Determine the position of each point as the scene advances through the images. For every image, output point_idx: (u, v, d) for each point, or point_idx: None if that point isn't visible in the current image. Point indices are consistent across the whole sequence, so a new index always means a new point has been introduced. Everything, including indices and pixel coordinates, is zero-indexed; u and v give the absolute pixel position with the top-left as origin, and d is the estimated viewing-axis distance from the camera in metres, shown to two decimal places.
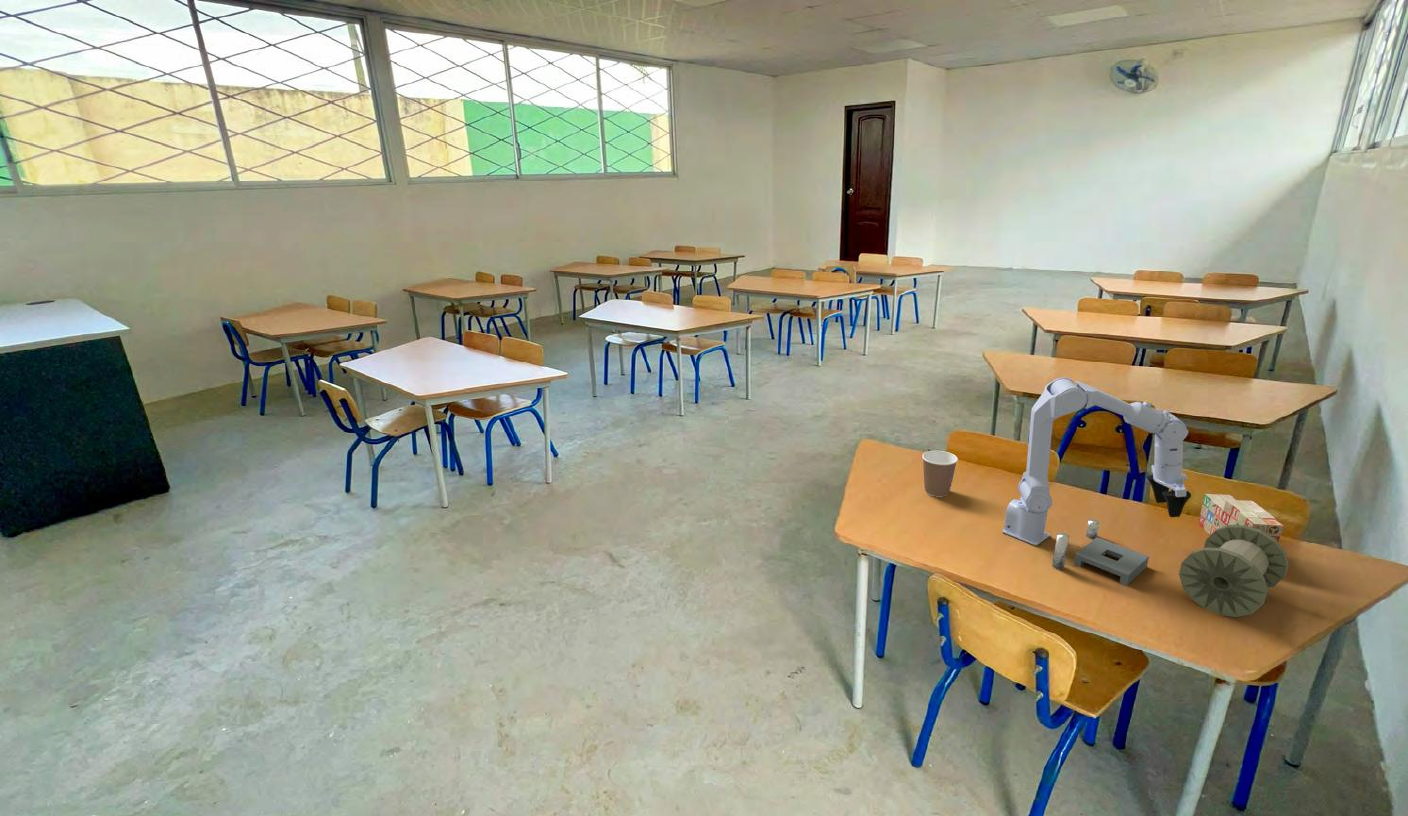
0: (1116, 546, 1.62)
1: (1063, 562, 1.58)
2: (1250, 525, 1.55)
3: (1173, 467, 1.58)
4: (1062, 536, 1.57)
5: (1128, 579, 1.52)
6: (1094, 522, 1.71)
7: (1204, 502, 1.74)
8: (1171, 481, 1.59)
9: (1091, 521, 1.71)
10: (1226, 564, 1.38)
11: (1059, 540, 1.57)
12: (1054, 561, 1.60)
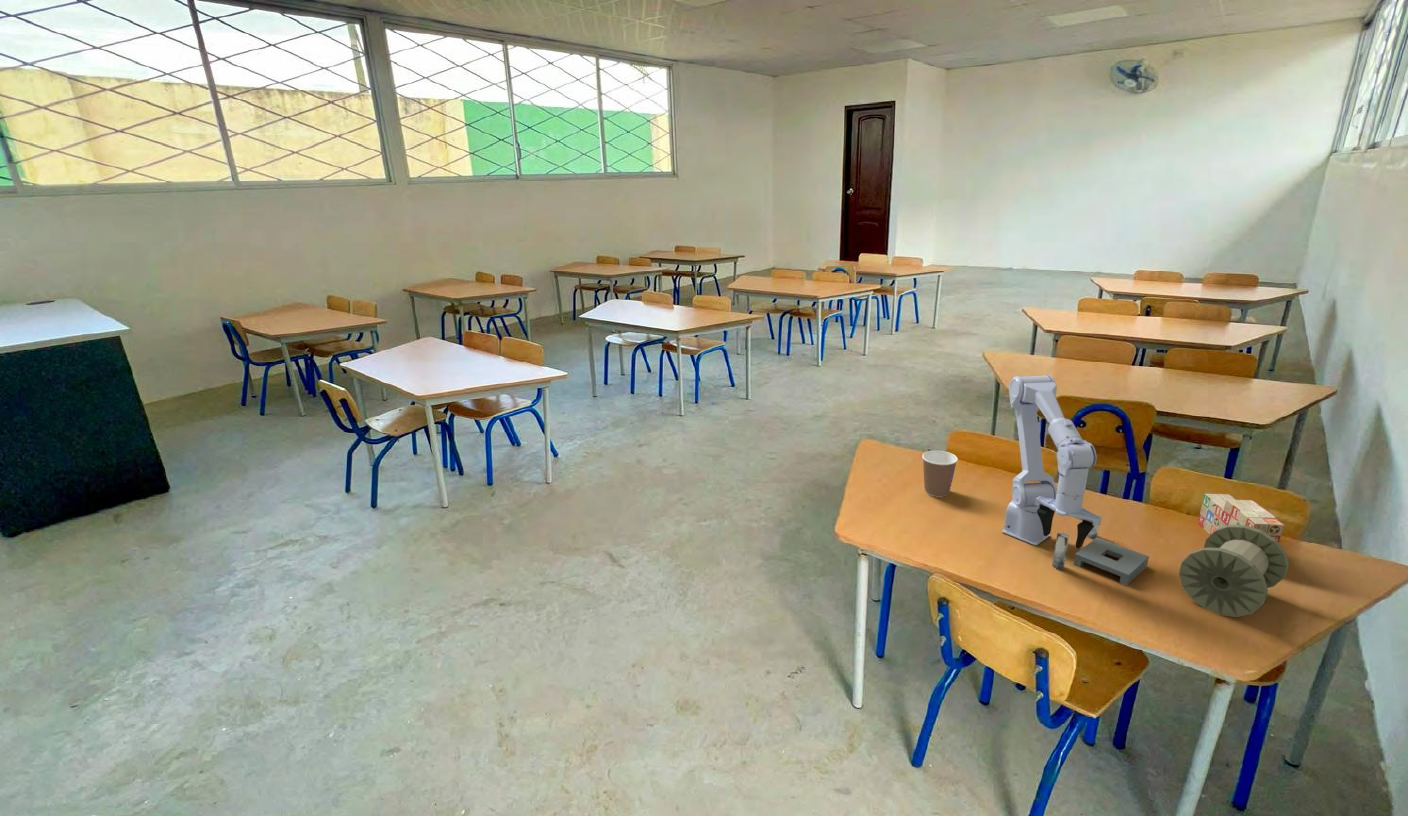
0: (1116, 546, 1.62)
1: (1063, 562, 1.58)
2: (1251, 525, 1.55)
3: None
4: (1062, 536, 1.57)
5: (1128, 579, 1.52)
6: None
7: (1204, 501, 1.74)
8: None
9: None
10: (1226, 564, 1.38)
11: (1059, 540, 1.57)
12: (1054, 561, 1.60)
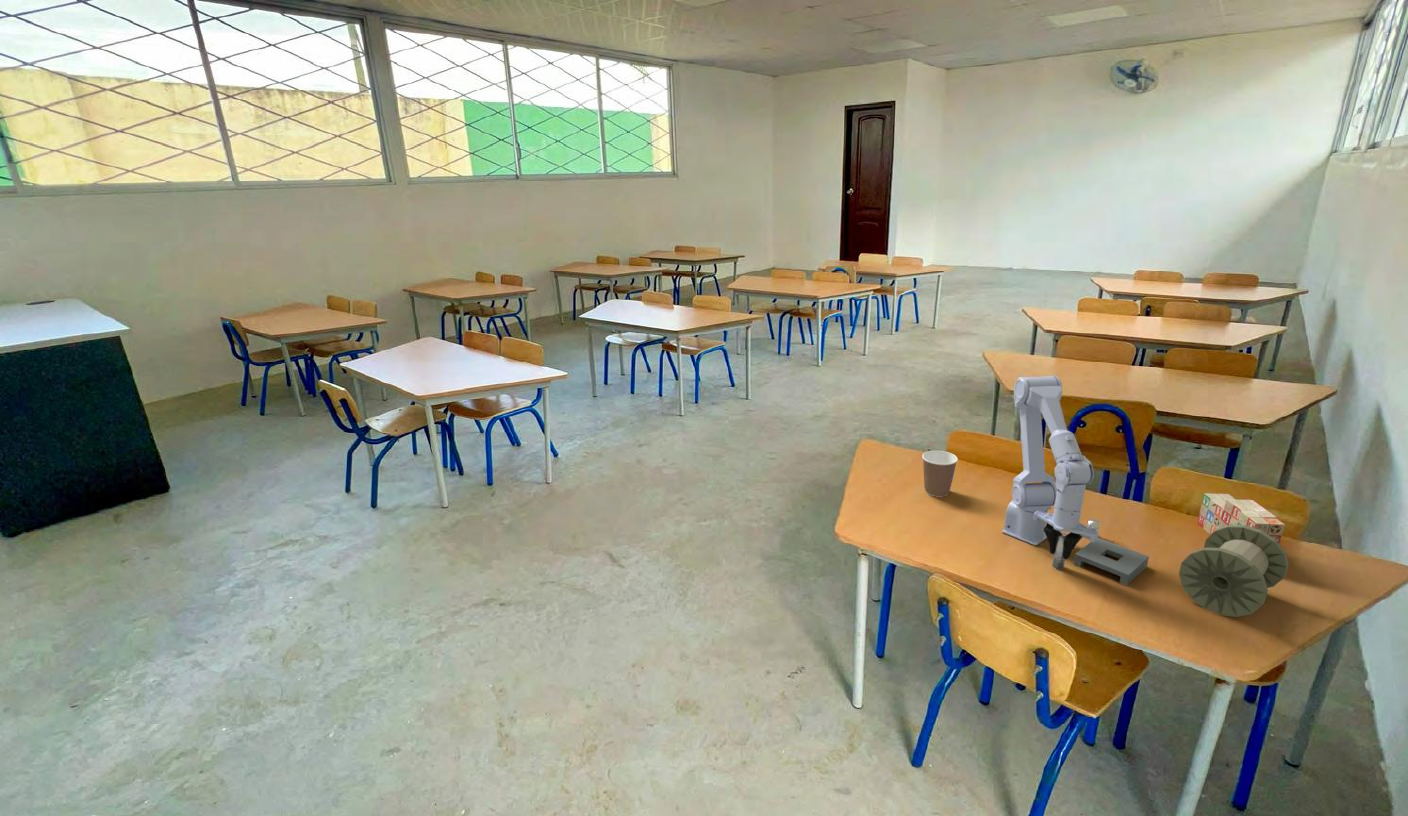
0: (1116, 546, 1.62)
1: (1063, 562, 1.58)
2: (1252, 524, 1.55)
3: None
4: (1062, 536, 1.57)
5: (1128, 579, 1.52)
6: (1094, 522, 1.71)
7: (1203, 501, 1.74)
8: None
9: (1091, 521, 1.71)
10: (1226, 564, 1.38)
11: (1059, 540, 1.57)
12: (1054, 561, 1.60)
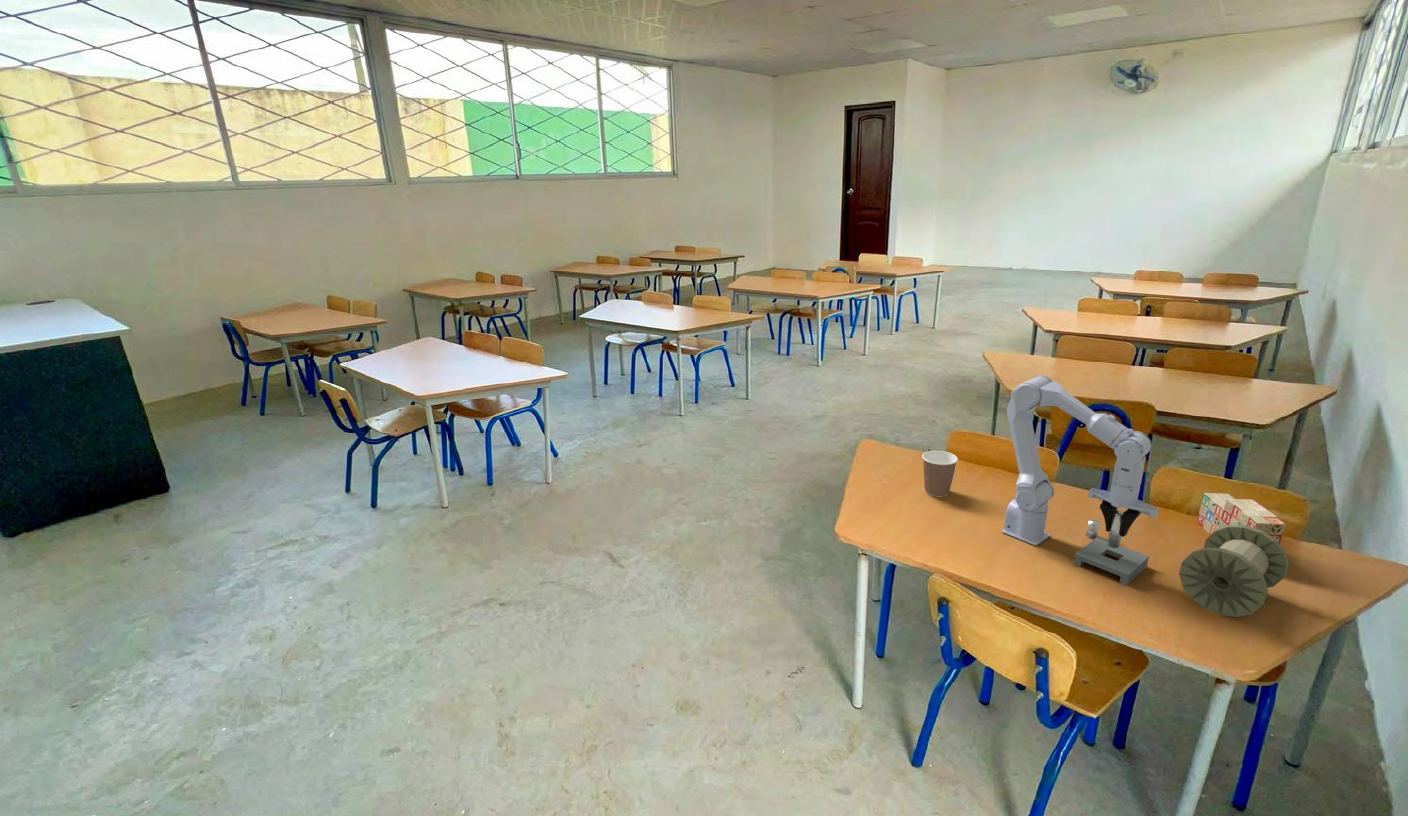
0: None
1: (1118, 540, 1.56)
2: (1253, 524, 1.55)
3: None
4: (1118, 513, 1.54)
5: (1128, 579, 1.52)
6: (1094, 522, 1.71)
7: (1203, 501, 1.74)
8: None
9: (1091, 521, 1.71)
10: (1226, 564, 1.38)
11: (1114, 518, 1.55)
12: (1109, 539, 1.57)
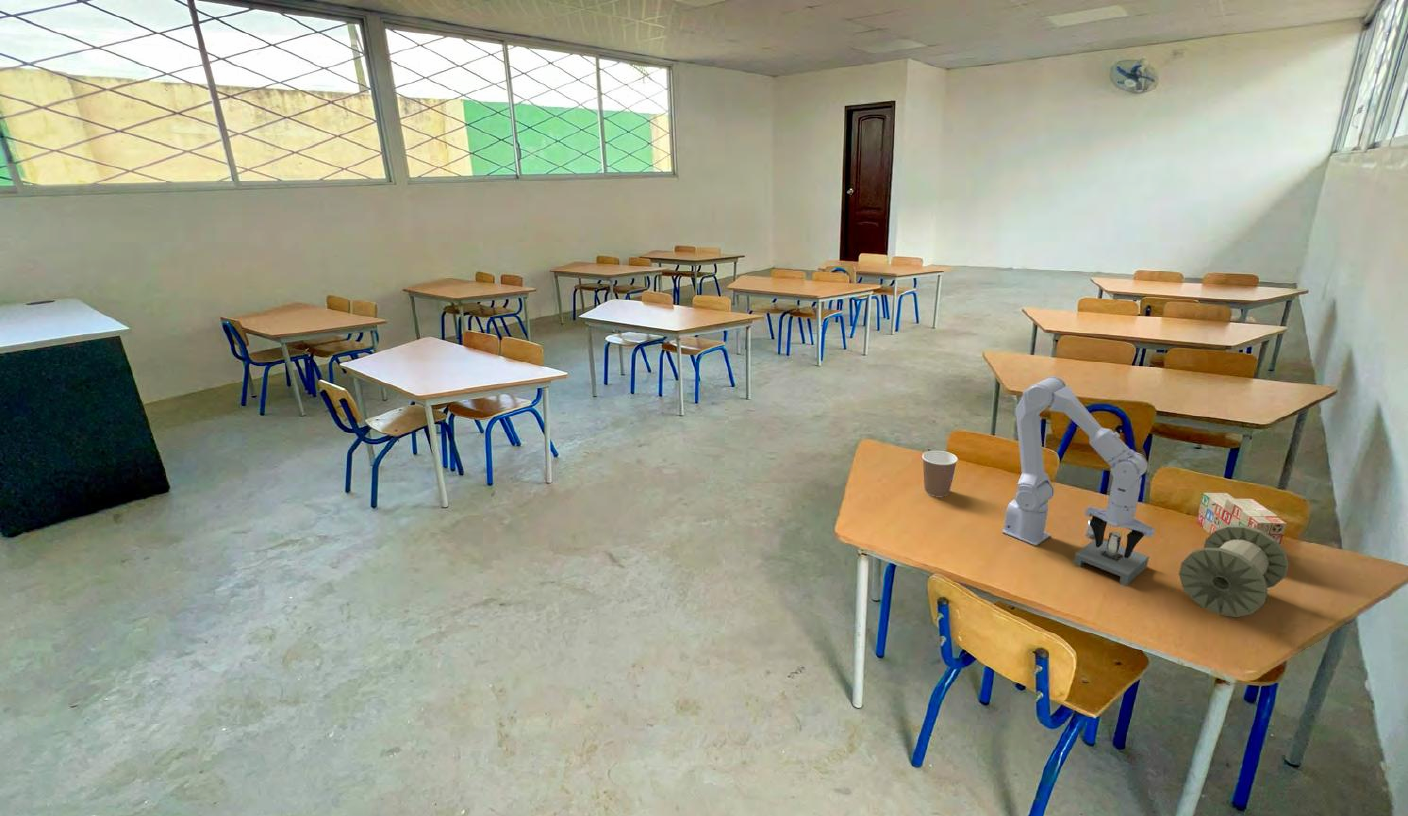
0: None
1: None
2: (1254, 524, 1.55)
3: None
4: (1114, 535, 1.56)
5: (1128, 579, 1.52)
6: None
7: (1203, 501, 1.74)
8: None
9: None
10: (1226, 564, 1.38)
11: (1110, 539, 1.57)
12: None
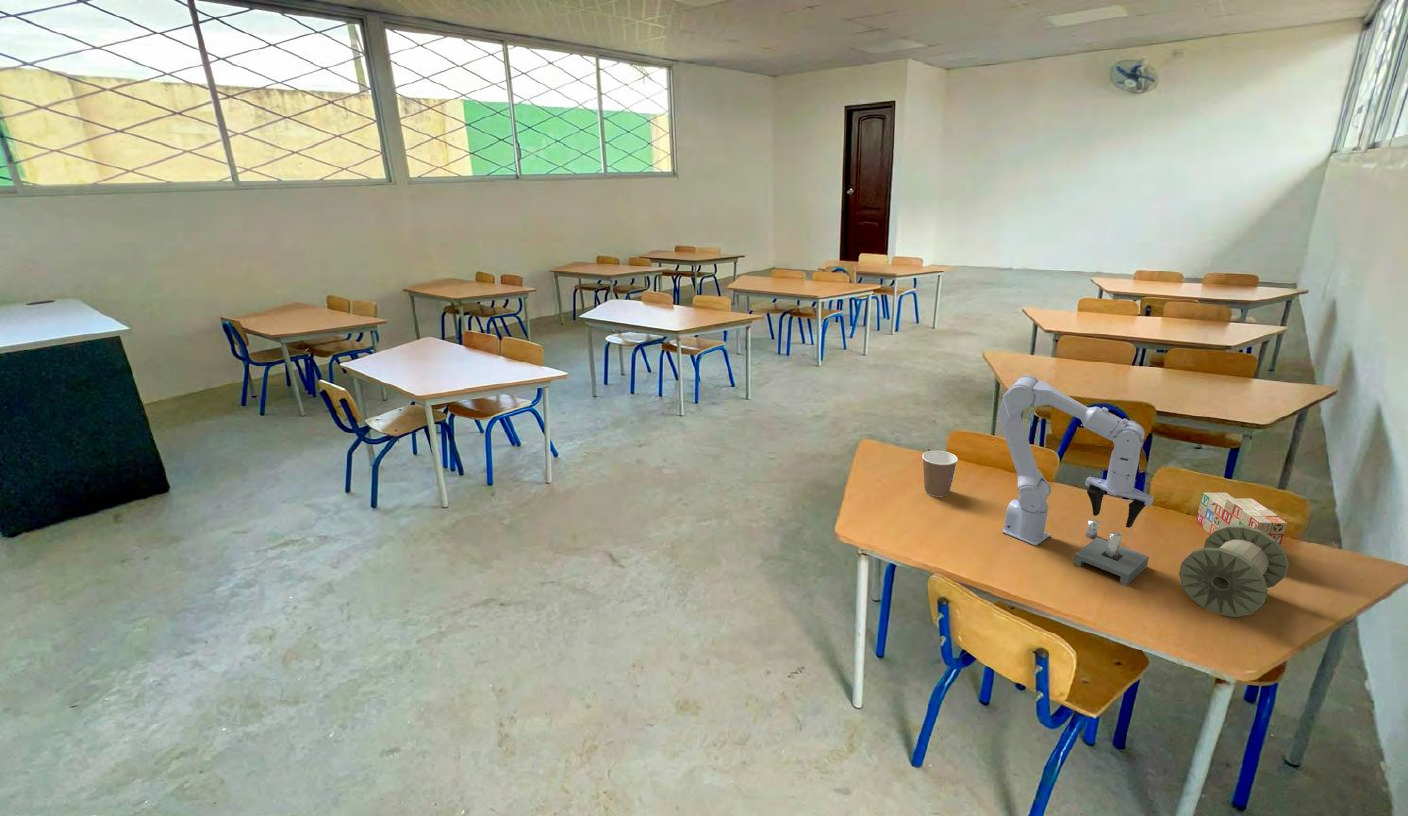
0: None
1: None
2: (1255, 524, 1.55)
3: None
4: (1114, 535, 1.56)
5: (1128, 579, 1.52)
6: (1094, 522, 1.71)
7: (1202, 500, 1.75)
8: None
9: (1091, 521, 1.71)
10: (1226, 564, 1.38)
11: (1110, 539, 1.57)
12: None
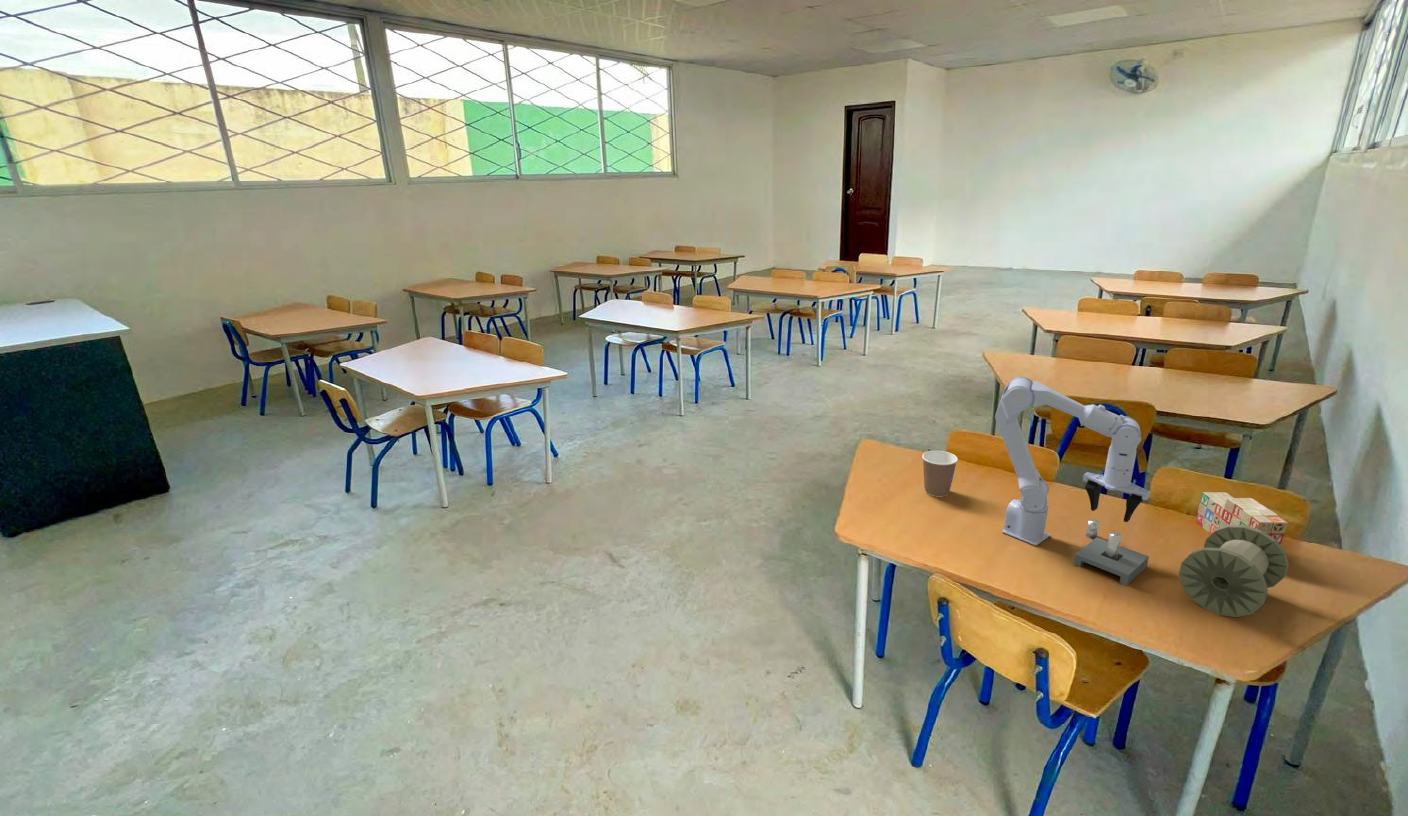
0: None
1: None
2: (1256, 523, 1.55)
3: None
4: (1114, 535, 1.56)
5: (1128, 579, 1.52)
6: (1094, 522, 1.71)
7: (1202, 500, 1.75)
8: None
9: (1091, 521, 1.71)
10: (1226, 564, 1.38)
11: (1110, 539, 1.57)
12: None
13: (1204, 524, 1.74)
